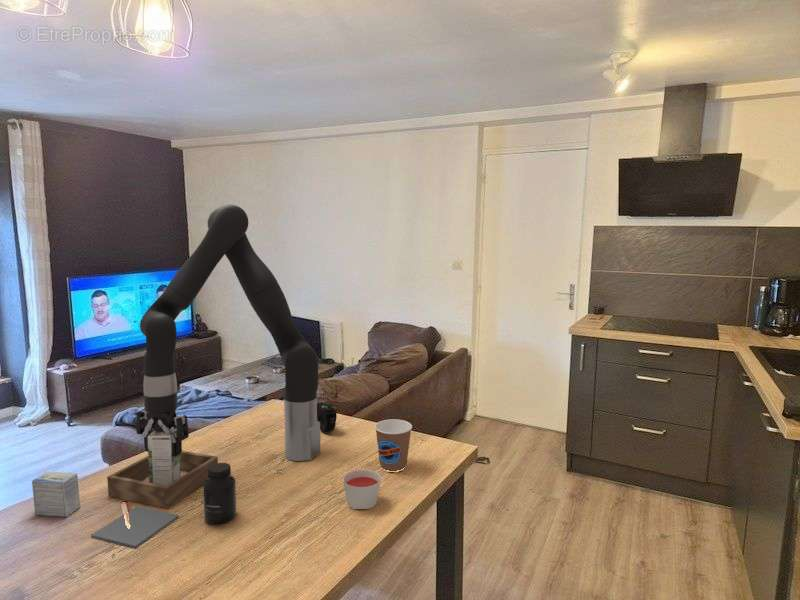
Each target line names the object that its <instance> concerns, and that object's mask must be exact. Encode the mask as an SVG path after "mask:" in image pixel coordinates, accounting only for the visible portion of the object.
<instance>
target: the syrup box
mask: <svg viewBox="0 0 800 600" xmlns="http://www.w3.org/2000/svg"><path fill="white" fill-rule="evenodd" d="M173 429H174V428H173V427H172V428H171V429H170V430H173ZM174 435H175V437H177V436H176V434H175V433H174ZM147 456H148V461H149V476H148V480H149V481H148V482H149V483H154V484H159V485H164V486H167V485H169V484H170V483H172V482H174V481H175V480H177V479H178V478H180V477H182V475H181V470H180V455H178V456H176V457H174V456H172V440H171V435H166V434H165V432H161V431H155V430H154V431H153V432H152V433H151V434H150V435H148V452H147Z"/></svg>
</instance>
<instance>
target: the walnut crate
mask: <svg viewBox="0 0 800 600" xmlns="http://www.w3.org/2000/svg"><path fill="white" fill-rule="evenodd" d="M216 463H219V458H218V456H215V455H210V454H204V453H197V452H192V451H185V450H182V452H181V454H180V471H186V472H187V473H185V474H184V475H181V477H180V478H178V479H177V480H175V481H174V482H172V483H170V484H169V485H167V486H164V485H159V484H154V483H149V481H143V480H144V479H146V478H149V461H148V455H146V456H145V457H142V458H141V459H139V460H136V461H135V462H133V463H131V464H129V465H127V466H126V467H123V468H122V469H119V470H118V471H116V472H113V473H111V474H110V475H108V476H106V477H107V493H108V495H107V496H108V497H110V498H116V499H119V498H120V499H121V500H125V501H128V502H133V503H139V504H143V505H148V506H153V507H156V508H162V509H167V510H168V509H170V508H172V506H175V504H177V503H179V502H180V501H181V500H183V499H185V498H186V497H188V496H189V495H191V494H192V493H193V492H195V491H196V490H198V489H199V488H201V487H202V486H204V482H205V480H206V479H207V478H208V468H209V467H210V466H211V465H213V464H216Z"/></svg>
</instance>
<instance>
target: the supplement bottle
mask: <svg viewBox="0 0 800 600" xmlns="http://www.w3.org/2000/svg"><path fill="white" fill-rule="evenodd" d="M236 489H237V488H236V478H235V477H234V476H233V475H232V469H231V464H229V463H227V462H218V463H216V464H213V465H211V466H210V467H209V468H208V478H207V479H206V480H205V482H204V485H203V516H204V517H203V518H204V521H205V522H206V523H207V524H209V525H213V526H220V525H223V524H224V525H225V524H228V523H229V522H231V521H232V520H234V519H235V517H236V514H237V490H236Z"/></svg>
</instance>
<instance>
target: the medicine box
mask: <svg viewBox="0 0 800 600" xmlns="http://www.w3.org/2000/svg"><path fill="white" fill-rule="evenodd" d="M31 487H32V495H33V505H34V506H33V507H34V515H35V516H39V515H40V516H41V515H42V517H58V516H59V518H61V517H63V518H67V517H69V516H71V515H70V514H74V511H75V512H76V511H77V510H79V509H80V508H81V498H80V491H79V490H80V489H79V488H80V487H79V480H78V473H76V472H75V473H74V472H60V471H59V472H57V471H46V472H44V473H42V474H41V475H38V476H37V477H36V478H33V480H31ZM78 508H79V509H78Z"/></svg>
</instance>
